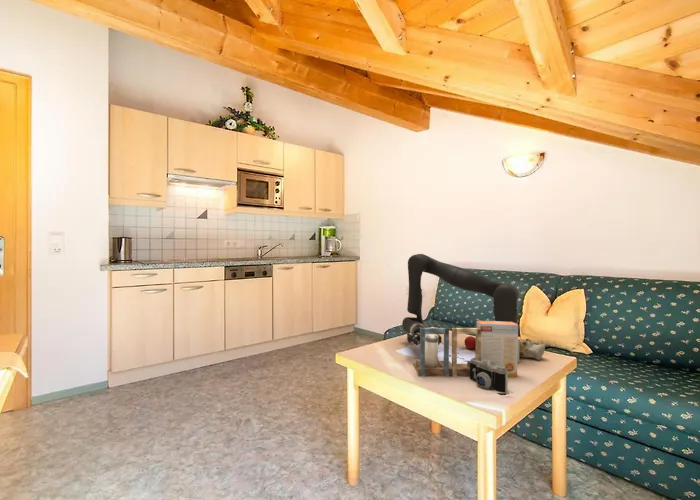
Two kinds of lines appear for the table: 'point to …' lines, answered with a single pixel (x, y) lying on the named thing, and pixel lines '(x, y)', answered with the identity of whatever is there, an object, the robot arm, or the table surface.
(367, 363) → the table surface
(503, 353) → the cracker box
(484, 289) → the robot arm
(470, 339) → the kendama
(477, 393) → the table surface
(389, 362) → the table surface
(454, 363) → the wooden rack
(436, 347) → the white cylinder
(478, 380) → the camera
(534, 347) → the ceramic sculpture
